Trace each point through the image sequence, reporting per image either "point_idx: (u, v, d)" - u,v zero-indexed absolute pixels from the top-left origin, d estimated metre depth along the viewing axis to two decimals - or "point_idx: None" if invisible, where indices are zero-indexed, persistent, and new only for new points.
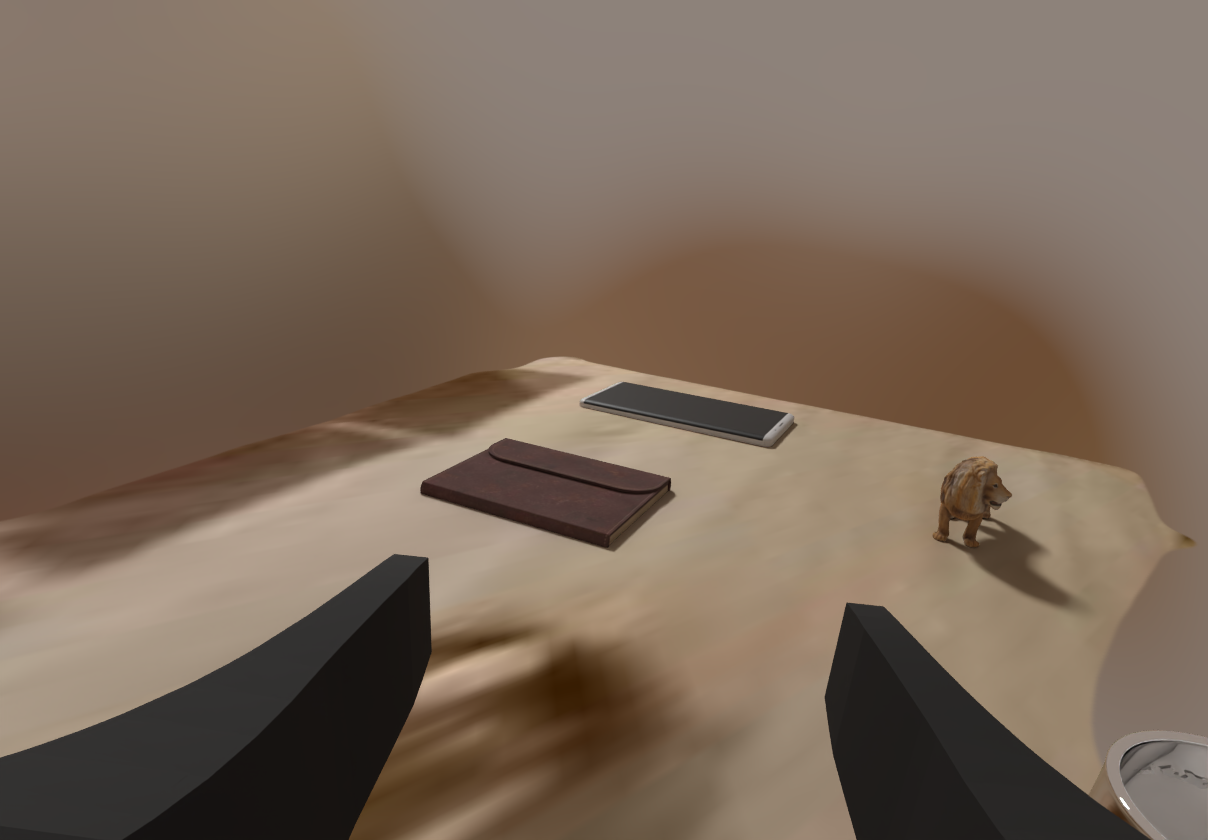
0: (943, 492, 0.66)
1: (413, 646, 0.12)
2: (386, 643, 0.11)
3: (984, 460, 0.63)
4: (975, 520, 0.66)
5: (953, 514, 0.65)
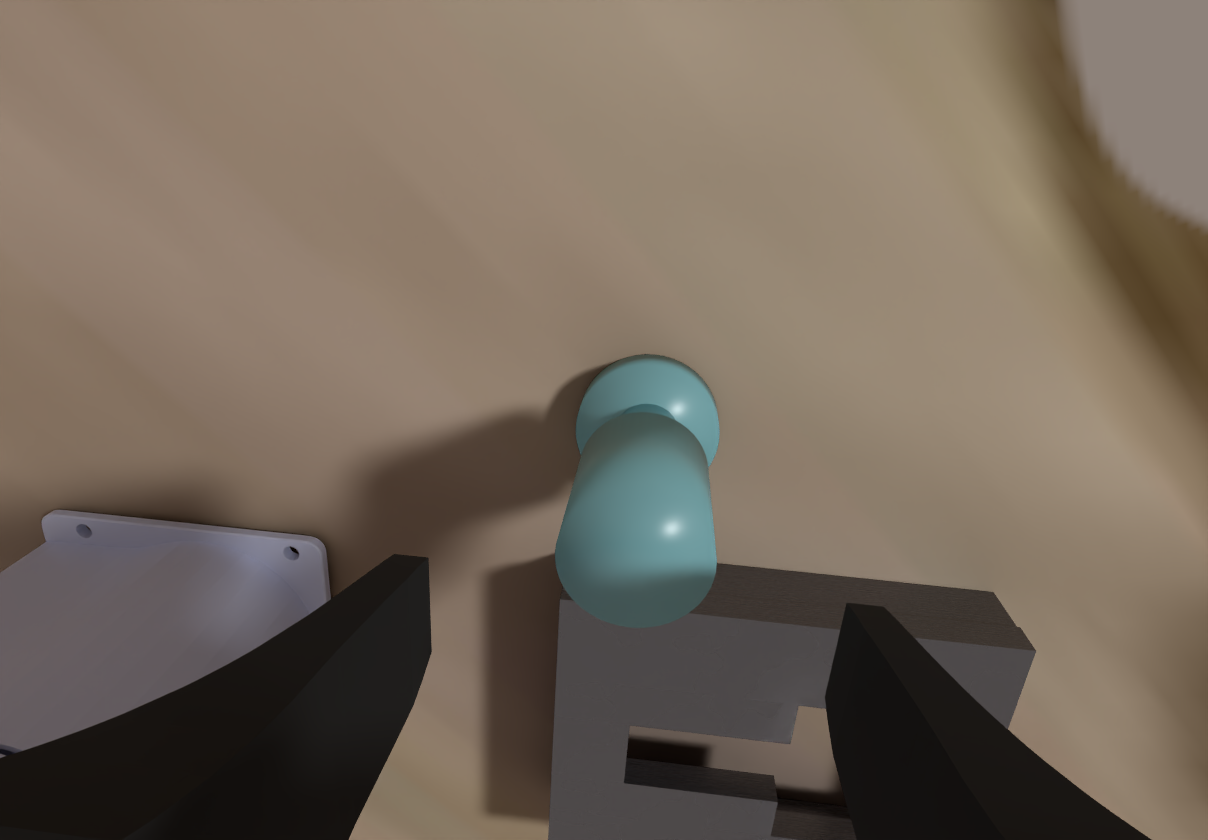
0: None
1: (413, 646, 0.12)
2: (386, 643, 0.11)
3: None
4: None
5: None
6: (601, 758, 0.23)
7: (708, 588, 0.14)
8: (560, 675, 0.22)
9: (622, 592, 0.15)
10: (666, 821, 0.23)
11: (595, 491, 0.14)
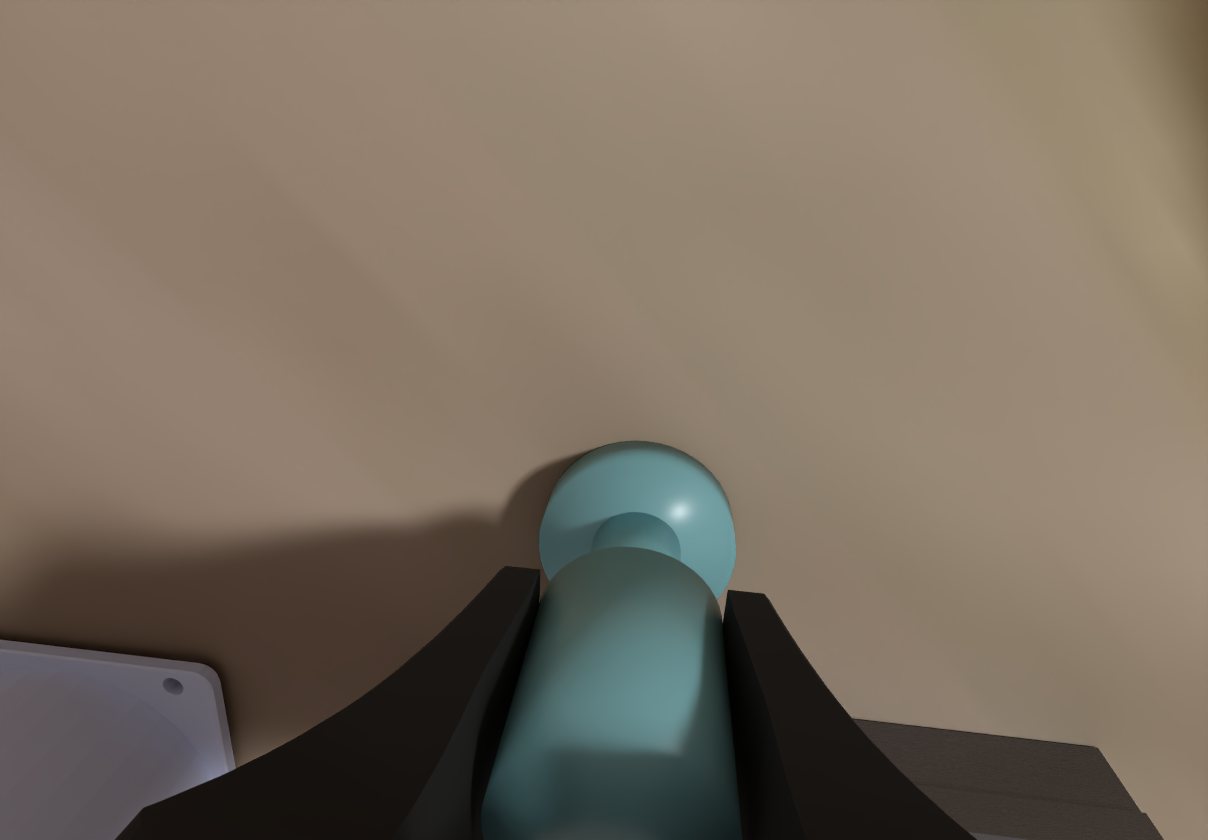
0: None
1: None
2: (513, 658, 0.11)
3: None
4: None
5: None
6: None
7: None
8: None
9: None
10: None
11: (543, 728, 0.09)
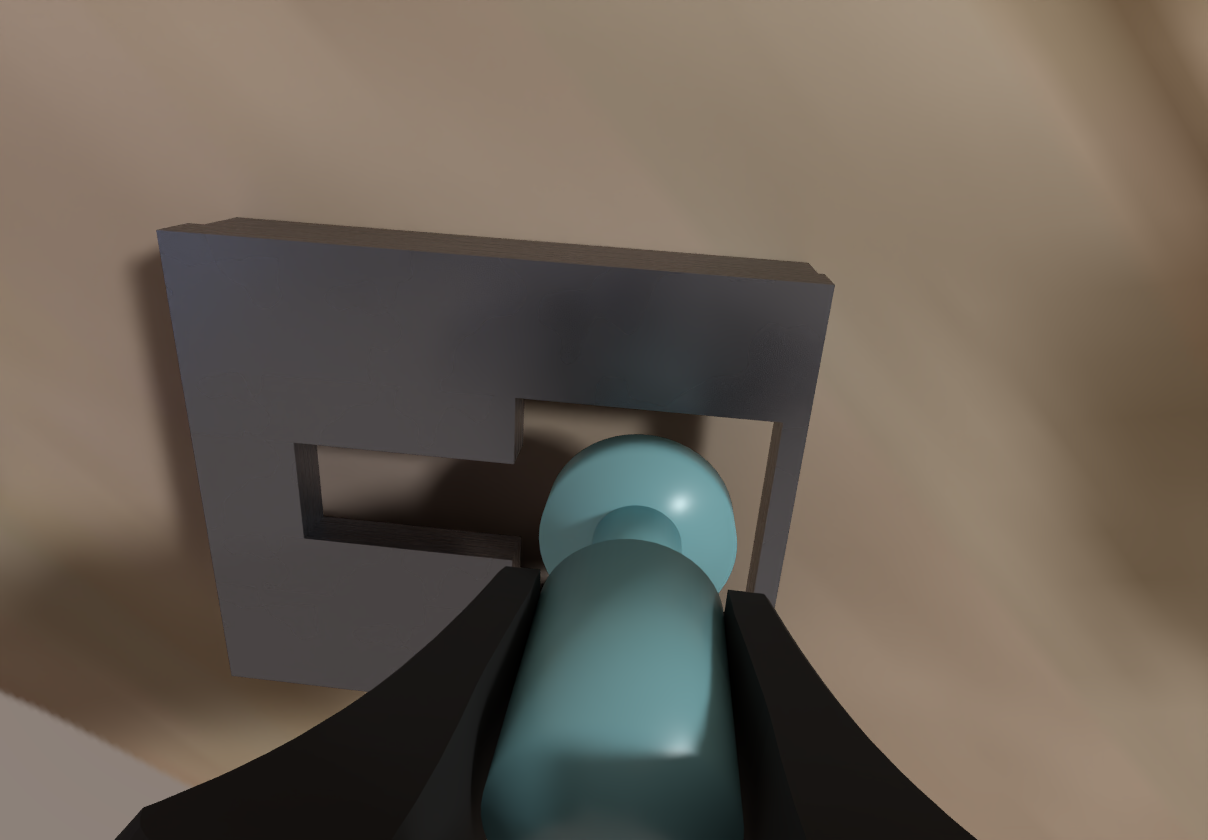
0: None
1: None
2: (513, 658, 0.11)
3: None
4: None
5: None
6: (266, 499, 0.16)
7: None
8: (187, 366, 0.15)
9: None
10: (371, 597, 0.17)
11: (537, 721, 0.09)
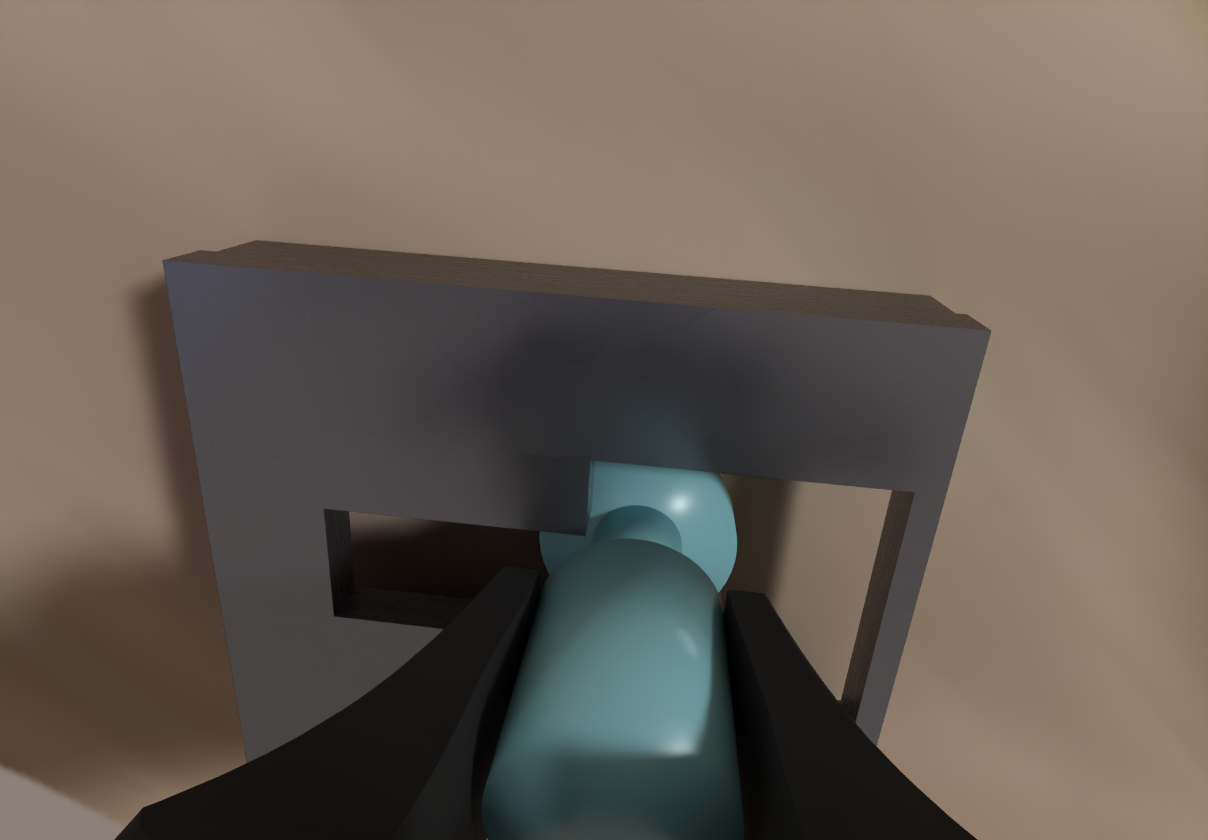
0: None
1: None
2: (513, 658, 0.11)
3: None
4: None
5: None
6: (290, 571, 0.14)
7: None
8: (198, 419, 0.13)
9: None
10: None
11: (538, 720, 0.09)
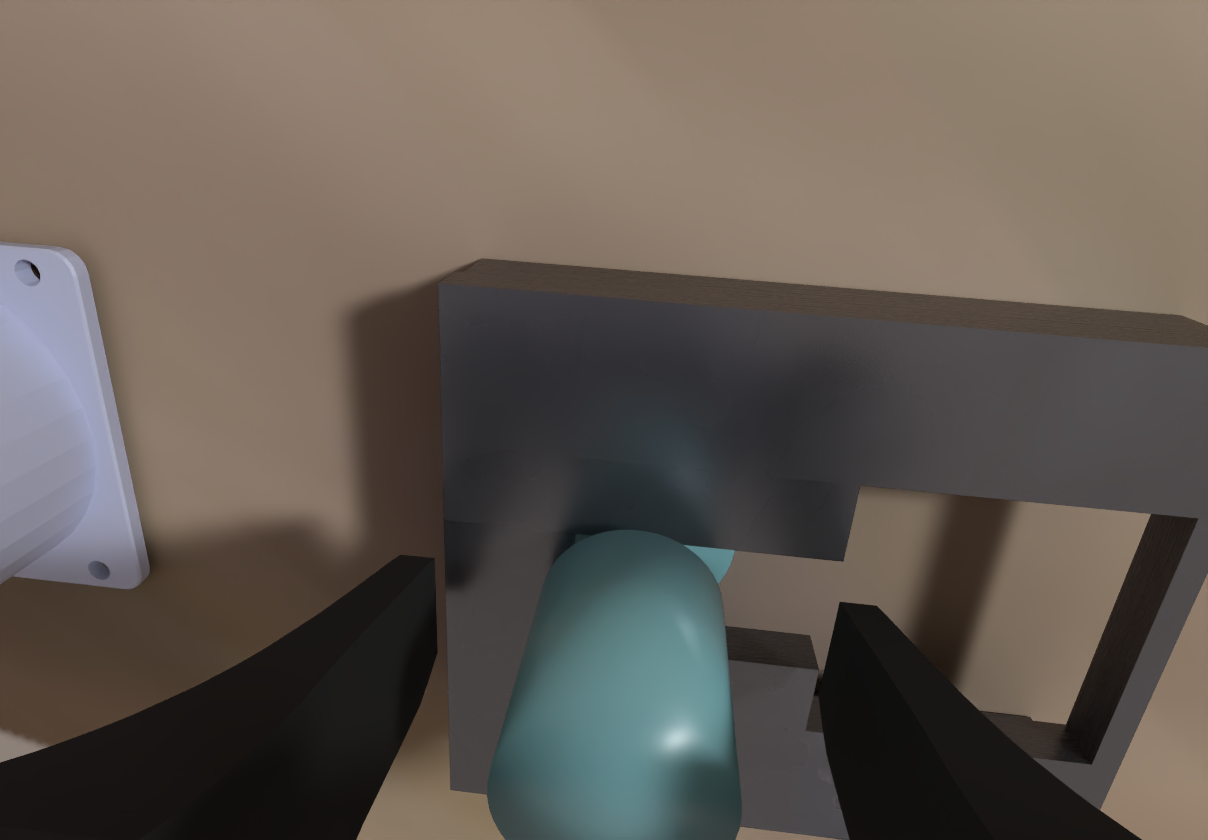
0: None
1: (419, 647, 0.12)
2: (393, 644, 0.11)
3: None
4: None
5: None
6: (525, 597, 0.14)
7: None
8: (450, 443, 0.13)
9: None
10: None
11: (542, 702, 0.09)
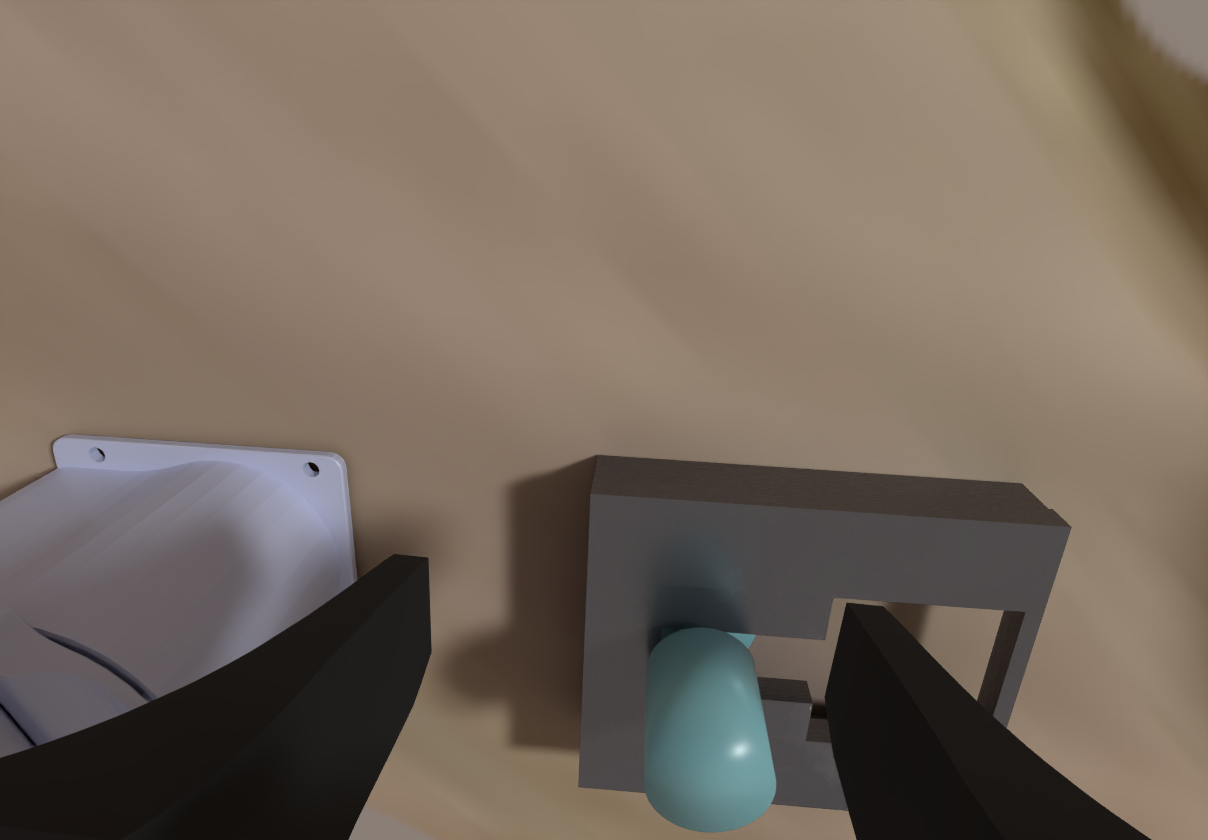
0: None
1: (413, 646, 0.12)
2: (386, 643, 0.11)
3: None
4: None
5: None
6: (633, 665, 0.22)
7: (770, 801, 0.18)
8: (591, 577, 0.21)
9: (700, 807, 0.18)
10: None
11: (673, 733, 0.18)
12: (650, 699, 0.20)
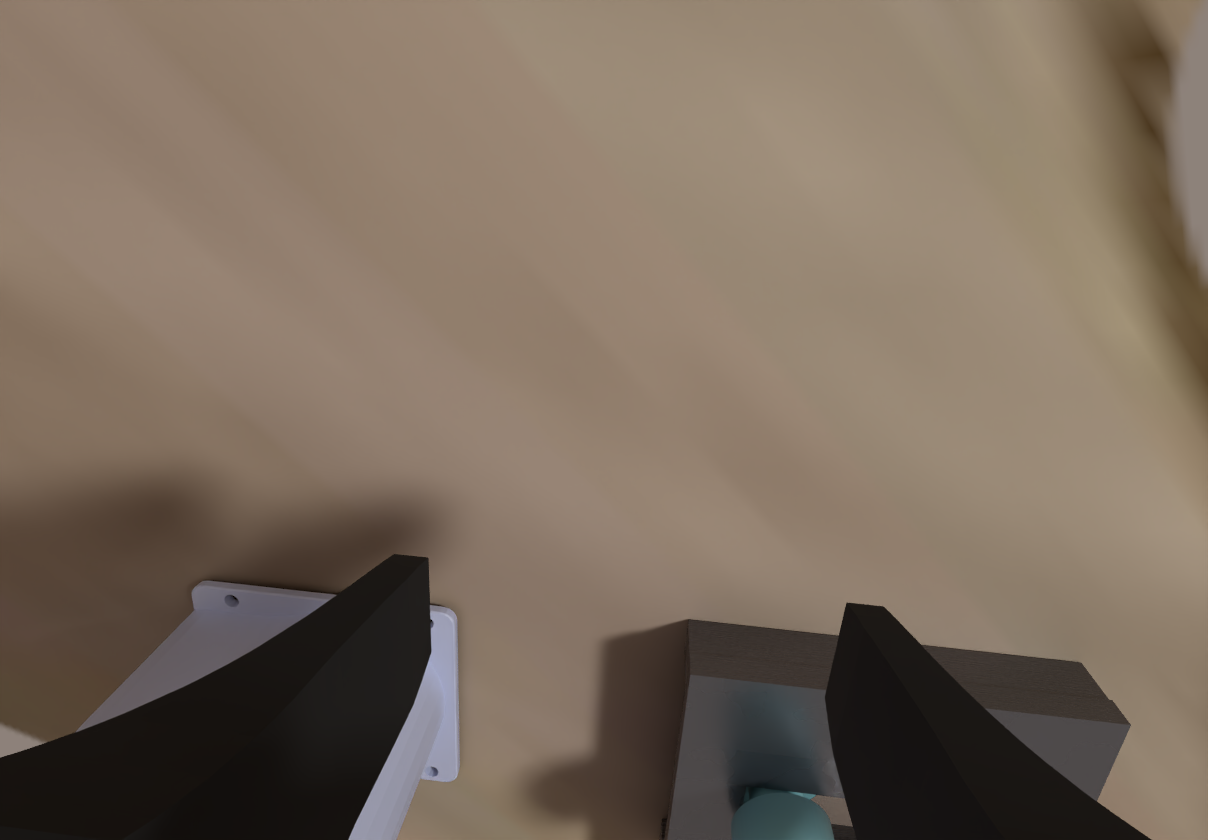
0: None
1: (413, 646, 0.12)
2: (386, 643, 0.11)
3: None
4: None
5: None
6: (717, 815, 0.24)
7: None
8: (684, 741, 0.23)
9: None
10: None
11: None
12: None
